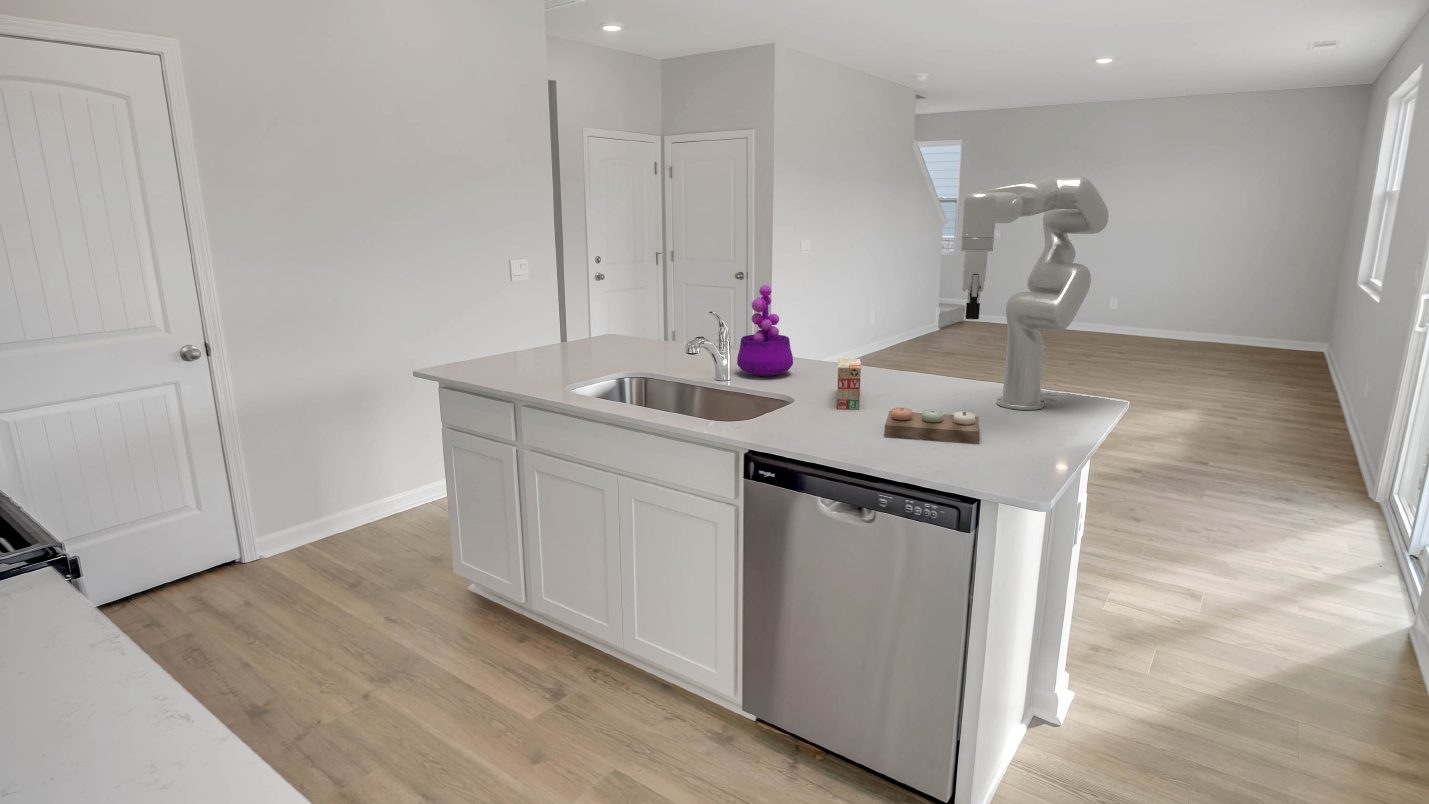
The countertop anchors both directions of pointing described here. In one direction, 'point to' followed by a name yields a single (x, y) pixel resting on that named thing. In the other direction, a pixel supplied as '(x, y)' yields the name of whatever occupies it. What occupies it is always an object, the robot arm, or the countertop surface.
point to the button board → (932, 429)
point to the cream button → (964, 417)
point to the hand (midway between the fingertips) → (972, 318)
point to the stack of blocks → (848, 384)
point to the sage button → (932, 415)
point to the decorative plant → (765, 342)
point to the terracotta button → (901, 413)
